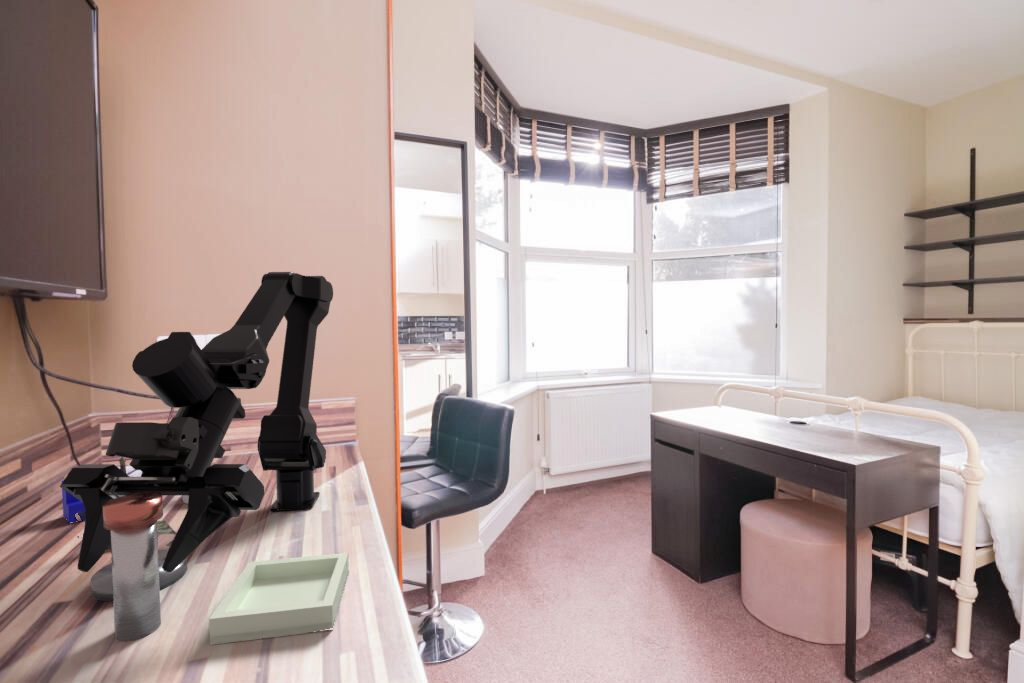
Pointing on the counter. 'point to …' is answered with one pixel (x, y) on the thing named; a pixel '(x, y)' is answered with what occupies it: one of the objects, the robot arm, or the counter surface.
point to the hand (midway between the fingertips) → (124, 570)
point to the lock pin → (135, 563)
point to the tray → (281, 599)
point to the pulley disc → (104, 579)
